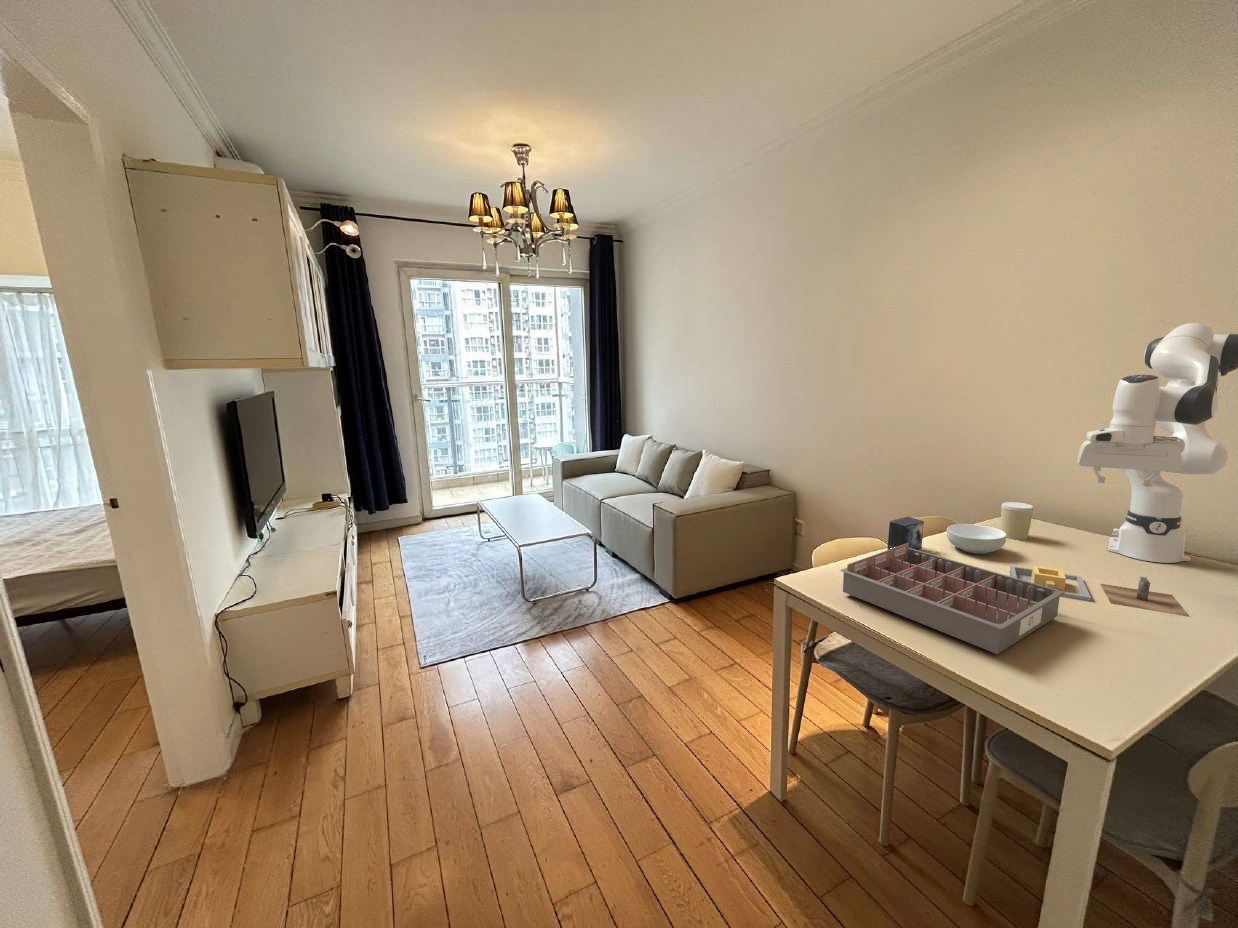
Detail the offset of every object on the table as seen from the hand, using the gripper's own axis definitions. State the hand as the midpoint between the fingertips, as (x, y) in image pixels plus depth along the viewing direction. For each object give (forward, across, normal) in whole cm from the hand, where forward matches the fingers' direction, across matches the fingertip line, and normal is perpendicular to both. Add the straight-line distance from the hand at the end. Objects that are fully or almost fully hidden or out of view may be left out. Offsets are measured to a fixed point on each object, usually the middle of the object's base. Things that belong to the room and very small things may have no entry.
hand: (1123, 484), depth 139 cm
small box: (+29, +52, -2) cm, 60 cm away
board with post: (+29, -4, +14) cm, 33 cm away
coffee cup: (+29, +20, -35) cm, 50 cm away
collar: (+29, +15, +15) cm, 36 cm away
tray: (+29, +15, +14) cm, 36 cm away
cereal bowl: (+29, +32, -12) cm, 45 cm away
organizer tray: (+30, +39, +41) cm, 64 cm away
